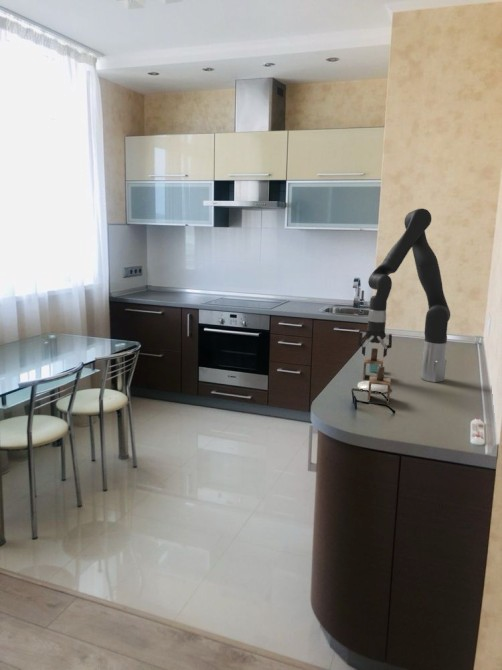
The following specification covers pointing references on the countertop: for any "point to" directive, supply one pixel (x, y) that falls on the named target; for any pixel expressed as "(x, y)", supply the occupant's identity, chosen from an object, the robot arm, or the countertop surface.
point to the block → (373, 367)
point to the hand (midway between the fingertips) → (373, 356)
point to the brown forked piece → (372, 360)
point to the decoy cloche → (380, 381)
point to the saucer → (372, 386)
